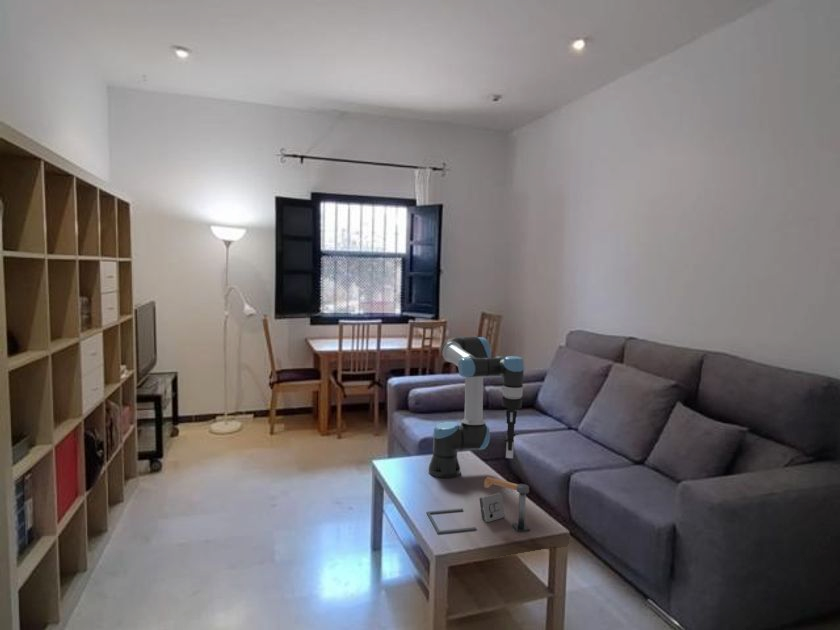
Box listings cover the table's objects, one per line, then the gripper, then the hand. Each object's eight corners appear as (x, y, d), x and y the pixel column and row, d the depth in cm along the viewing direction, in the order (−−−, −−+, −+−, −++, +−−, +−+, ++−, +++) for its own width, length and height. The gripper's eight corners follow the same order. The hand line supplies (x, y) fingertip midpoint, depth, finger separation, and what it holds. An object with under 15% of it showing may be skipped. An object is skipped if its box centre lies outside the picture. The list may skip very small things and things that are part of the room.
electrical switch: (486, 523, 190) (485, 499, 190) (477, 518, 195) (477, 494, 195) (505, 517, 195) (504, 494, 195) (496, 513, 199) (496, 490, 199)
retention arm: (530, 494, 187) (530, 485, 186) (526, 499, 183) (526, 489, 183) (488, 483, 195) (488, 475, 195) (483, 487, 192) (484, 478, 191)
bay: (426, 513, 197) (426, 511, 197) (462, 509, 200) (462, 508, 200) (437, 533, 181) (437, 532, 181) (476, 530, 185) (476, 528, 185)
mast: (511, 525, 189) (513, 489, 188) (524, 524, 190) (525, 488, 189) (517, 532, 184) (519, 495, 183) (530, 531, 185) (531, 494, 184)
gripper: (503, 390, 202) (500, 446, 204) (501, 401, 184) (499, 462, 186) (521, 392, 200) (519, 448, 202) (522, 403, 183) (519, 464, 185)
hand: (509, 455), depth 194 cm, fingers open, 5 cm apart
